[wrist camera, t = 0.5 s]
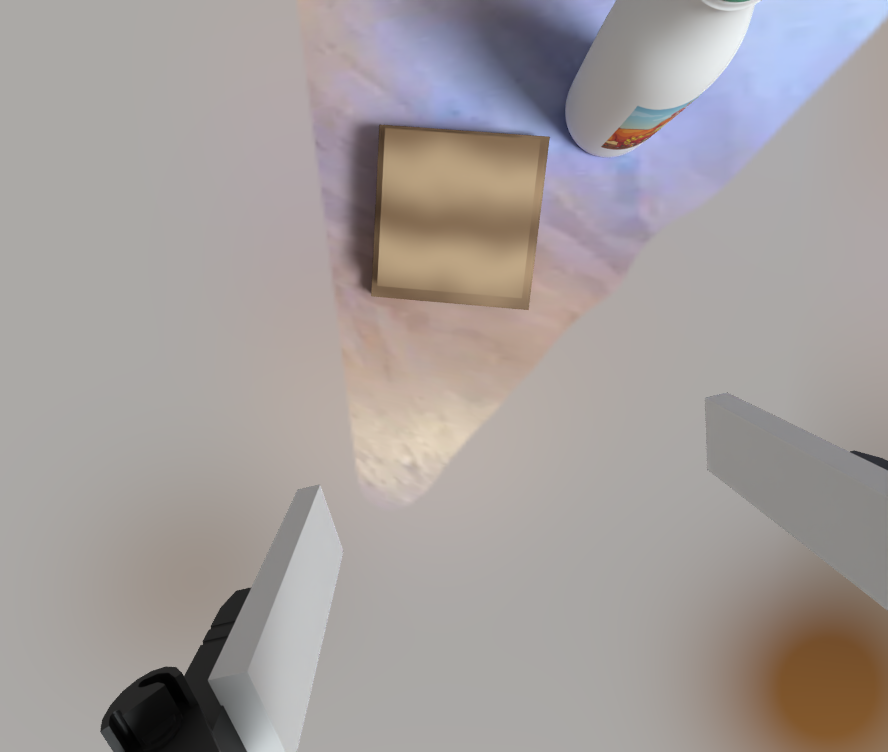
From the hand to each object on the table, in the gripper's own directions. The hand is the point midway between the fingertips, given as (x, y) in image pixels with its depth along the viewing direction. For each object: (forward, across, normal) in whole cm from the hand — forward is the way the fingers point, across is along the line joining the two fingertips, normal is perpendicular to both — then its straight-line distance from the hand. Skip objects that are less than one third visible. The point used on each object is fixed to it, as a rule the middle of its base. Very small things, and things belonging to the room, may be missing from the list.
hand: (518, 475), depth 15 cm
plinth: (+28, +2, +9) cm, 30 cm away
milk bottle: (+28, +17, +15) cm, 36 cm away
